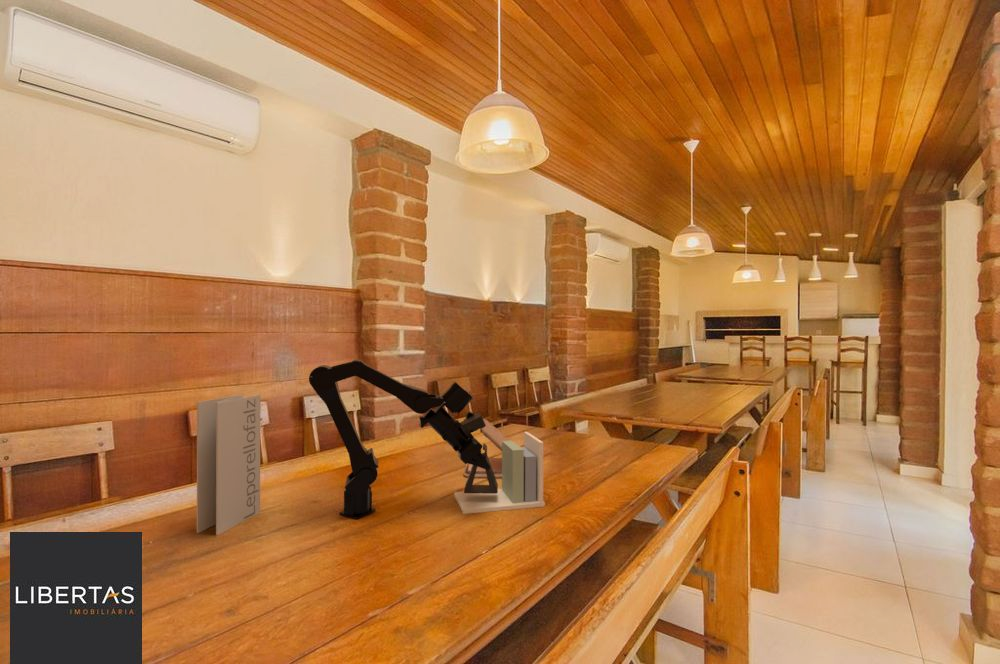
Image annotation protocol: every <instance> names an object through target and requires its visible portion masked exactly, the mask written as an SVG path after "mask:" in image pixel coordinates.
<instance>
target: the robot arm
mask: <svg viewBox="0 0 1000 664" xmlns="http://www.w3.org/2000/svg"><path fill="white" fill-rule="evenodd" d="M352 377H357V378H360V379H361V380H362V381H365V382H367V383H369V384H371V385H373V386H374V387H377V388H379V389H381V390H383V391H384V392H386V393H389V394H390V395H391V396H393V397H395V398H397V399H398V400H399V401H401V403H403V404H404V405H405V406H406V407H408V408H409V409H410V410H412V411H413V412H414V413H415V414H419V416H418V418H419V427H420V428H421V429H423V428H424V427H425V426H426V425H427V424H428V425H429V426H430V427H431V429H433V430H434V431H435V432H436V433H437V434H438V435H439V436H440V437H441V438H442V440H443V441H444V442H446V443H447V444H448V445H449V447H450V446H451V448H452V449H453V450H454V452H457V453H458V455H457V456H458V458H459V460H460V461H462V462H463V464H465V465H466V464H467V463H468V464H471V465H474V466H477V467H480V468H483V469H486V470H489V469H490V465H489V464H488V462H487V461H486V459H485V458H484V456H483V455H482V453H483V452H482V449H483V445H482V444H481V442H479V441H478V440H477V439H476V438H475V437H474V435H473V434H472V433H474V432H476V431H479V430H480V429H481V428H484V427H485V426H486V424H485V422H484V420H483V419H484V418H483V416H482V414H480V413H479V412H476V413H475V414H474V413H473V412H472V411H468V412H466V413H465V418H464V419H463V420H462V421H459V420H458V419H455V418H454V417H453V416H452V415H451V414H450V413H449V412H451V413H452V414H453V415H454V414H461V412H462V411H463V410H464V409H465V408H466V407H467V406H468V405H469V404H470V403H471V402H472V400H474V397H472V395H471V394H470V393H469V392H468V391H467V390H466V389H464V388H463V387H461V386H460V385H459V384H458V383H457V382H456V381H453V382H452V383H451V384H450V385H449V387H448V388H447V389H446V390H445V392H443V394H442V395H440V394H433V393H429V392H428V391H426V390H425V389H423V388H420V387H416V386H413V385H410V384H406V383H403V382H401V381H399V380H397V379H395V378H393V377H392V376H389V375H387V374H386V373H384V372H382V371H379V370H378V369H377V368H374V367H372V366H371V365H368V364H366V363H365V362H364V361H363V360H361V359H353V360H352V361H349V362H345V363H340V364H338V365H333V366H330V365H326V364H322V365H319V366H317V367H316V368H315V367H314V369H312V371H311V372H310V373H309V377H308V382H309V384H310V386H311V387H312V388H313V391H314V392H315V393H316V394H317V396H318V397H319V398H320V399H321V400H322V402H323V403H324V404H325V405H326V407H327V410H328V412H329V414H330V416H331V419H332V420H333V421H332V422H334V426H335V427H336V429H337V432H338V434H339V436H340V438H341V440H342V442H343V444H344V446H345V449H346V451H347V453H348V457H349V462H350V468H351V472H350V473H349V474H348V475H347V476H346V479H345V485H344V489H345V490H344V491H343V510H341V511H339V515H341V516H344V517H346V518H347V517H348V518H352V519H356V520H358V519H361V518H363V517H366V516H368V515H370V514H372V513H375V512H376V508H372V507H373V502H372V501H373V491H372V486H371V485H372V484H374V482H375V481H376V480H377V477H378V469H379V459H377V457H376V456H375V453H374V449H373V447H370V448H369V449H367V448H366V447H365V446H364V445H363V442H362V441H361V438H360V436H359V434H358V431H357V429H356V426H355V425H354V423H353V421H352V419H351V416H350V414H349V412H348V410H347V408H346V406H345V404H344V401H343V399H342V397H341V392H340V387H339V382H342V381H344V380H347V379H350V378H352ZM444 407H445V408H447V409H448V411H449V412H448V411H447V410H446V409H445V408H444ZM434 408H435V409H434ZM423 414H424V415H423Z"/></svg>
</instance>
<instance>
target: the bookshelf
mask: <svg viewBox="0 0 1000 664" xmlns="http://www.w3.org/2000/svg"><path fill="white" fill-rule="evenodd" d="M501 458H502V478H501V488H498V493H497V494H490V493H464V491H456V492H454V493H453V494H454V495H453V496H454V498H455V500H456V502H457V504H458V506H459V509H460V510H461V512H462V514H463V515H466V514H467V515H468V514H479V513H486V512H487V513H488V512H490V513H491V512H496V511H497V512H499V511H508V510H509V511H511V510H520V509H521V510H522V509H530V508H531V509H533V508H543V507H546V502H545V501H544V442H543V441H542V440H540V439H539V438H537V437H536V436H534V435H533V434H531V433H530V432H528V431H524V432H523V446H520V445H519V444H517V443H516V442H515V441H513V440H510V441H502V451H501Z"/></svg>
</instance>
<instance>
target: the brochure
mask: <svg viewBox="0 0 1000 664" xmlns="http://www.w3.org/2000/svg"><path fill="white" fill-rule="evenodd" d="M243 396H244V395H243V393H242V394H236V395H230V396H225V397H219V398H218V397H217V398H214V399H207V400H201V401H196V534H199V533H201V532H203V531H205V530H207V529H208V528H211V527H213V526H215V536H218V535H221V534H222V533H225V532H226V531H228V530H230V529H232V528H234V527H236V526H237V525H239V524H241V523H243V522H245V521H247V520H249V519H251V518H253V517H254V516H256V515H258V514H260V513H261V394H257V395H251V396H247V397H243Z"/></svg>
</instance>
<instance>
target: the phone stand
mask: <svg viewBox="0 0 1000 664" xmlns="http://www.w3.org/2000/svg"><path fill="white" fill-rule="evenodd" d="M482 446H483V447H482V450H483V451H484V452H481V453H482V455H483V456H484V458H485V459H486V461H487V462H488V464H489V465H490V469H489V470H486V469H485V470H486V474H487V478H486V479H487V482H488V484H474V480H475V478H474V477H475V473H476V470H477V466H474V465H473V466H472V468H471V471H470V474H469V476H468V477H467V479H466V481H465V485H464V489H463V492H464V493H490V494H497V493H498V489H499V488H498V487H499V485H498V482H497V478H495V476H494V473H493V470H492V467H491V464H490V461H489V458H490V457H489V456H488V446H487V444H486V443H483V445H482Z"/></svg>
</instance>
